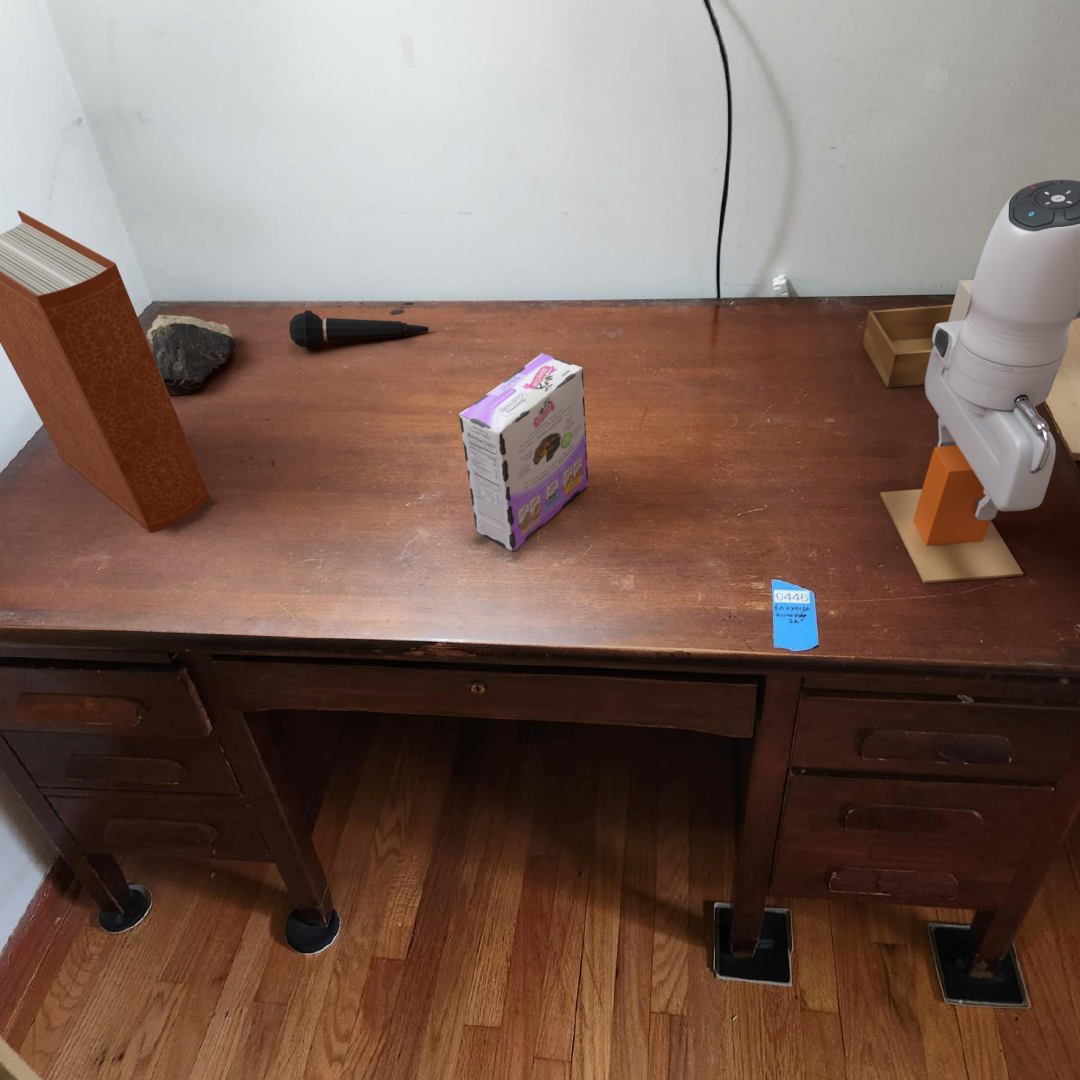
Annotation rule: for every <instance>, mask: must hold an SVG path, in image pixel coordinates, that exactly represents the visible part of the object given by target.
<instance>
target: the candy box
mask: <svg viewBox="0 0 1080 1080" xmlns="http://www.w3.org/2000/svg"><path fill="white" fill-rule="evenodd" d="M458 417H459V424H460V430H461V437H462V444H463V452H464V459H465V464H466V470H467V477H468V484H469V491H470V499H471V503H472V505H471V506H472V513H473V518H474V526H475V532H476V533H478V534H479V535H481V536H483V537H485V538H487V539H488V540H490V541H492V542H494V543H496V544H497V545H499V546H501V547H503V548H504V549H506V550H508V551H509V552H514V551H516V550H517V549H518V548H520V547H521V546H522V545H523V544H524V543H525V542H526V541H528V539H530V538H531V537H532V536H533V535H534V534H536V533H537V532H538V531H539V530H540V529H541V528H542V527H543V526H544V525H545V524H546V523H547V522H549V521H550V520H551V519H552V518H553V517H554V516H555V515H557V513H559V512H560V511H561V510H562V509H563V508H565V507H566V506H567V505H568V504H569V503H570V502H571V501H572V500H573V499H574V498H575V497H576V496H578V495H579V494H580V493H581V492H582V491H583V490H585V489H586V487H588V486H589V471H588V449H587V429H586V428H587V426H586V425H587V424H586V405H585V385H584V368H583V367H582V366H579V365H576V364H573V363H571V362H568V361H566V360H562V359H559V358H557V357H554V356H551V355H549V354H546V353H543V352H541V353H539V355H537V356H536V357H534V358H533V359H532V360H531V361H529V362H528V363H527V364H525V365H524V366H523V367H522V368H520V369H519V370H517V371H516V372H515V373H514V374H512V375H511V376H510V377H508V378H506V379H505V380H504V381H503V382H500V384H498V385H497V386H495V387H494V388H493V389H492V390H490V391H489V392H487V393H486V394H484V395H483V396H482V397H481V398H479V399H477V401H475V402H474V403H472V404H471V405H469V406H468V407H467V408H465V409H464V410H463V411H461V412H460V413H459V414H458Z"/></svg>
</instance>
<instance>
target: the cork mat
mask: <svg viewBox="0 0 1080 1080" xmlns="http://www.w3.org/2000/svg"><path fill="white" fill-rule="evenodd" d="M921 492H922V488H919V489H904V490H892V491H880V492H879V496H880V498H881V500H882V502H883V504H884V507H885V508H886V510H887V512H888V514H889V516H890V518H891V520H892V522H893V524H894V526H895V528H896V531H897V532H898V534H899V536H900V538H901V540H902V542H903V545H904V547H905V548H906V551H907V553H908V555H909V557H910V559H911V561H912V563H913V565H914V566H915V567H914V568H915V569H916V571H917V573H918V576H919V577H920V579H921V582H922V583H923V584H934V583H935V584H936V583H950V582H962V581H963V582H964V581H974V580H976V581H977V580H987V579H988V580H989V579H1002V578H1015V577H1023V576H1024V572H1023V570H1022V569H1021V567H1020V565H1019V564H1018V561H1016V559H1015V558H1014V555H1013V554H1012V552H1011V551H1010V549H1009V547H1008V545H1007V544H1006V543H1005V541H1004V539H1003V537H1002V536H1001V535H1000V533H999V531H998V529H997V528H996V527H995V525H994V523H993V521H992V519H991V520H990V523H989V526H988V528H987V531H986V534H985V536H984V539H983V541H980V542H966V543H953V544H940V545H925V543H924V541H923V539H922V537H921V535H920V533H919V531H918V529H917V527H916V525H915V524H914V522H913V519H914V515H915V512H916V509H917V505H918V502H919V498H920V495H921Z"/></svg>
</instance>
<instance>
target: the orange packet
mask: <svg viewBox="0 0 1080 1080" xmlns="http://www.w3.org/2000/svg"><path fill="white" fill-rule="evenodd" d="M921 489H922V492H921V495H920V498H919V502H918V505H917V509H916V512H915V515H914V519H913V522H914V524H915V525H916V527H917V529H918V531H919V533H920V535H921V537H922V539H923V541H924V543H925V545H940V544H953V543H966V542H980V541H983V539H984V536H985V534H986V531H987V528H988V526H989V523H990V520H982V521H979V520H977V518H976V516H975V514H974V513H973V511H972V506H973V502H974V500H975V498H978V497H983V498H984V497H985V496H986V495H985V494H984V492H983V491H984V487H983V485H982V484H981V482H980V481H979V479H978V478H977V476H976V474H975V473H974V471H973V470H972V468H971V466H970V465H969V463H968V462H967V460H966V459H965V457H964V455H963V454H962V452H961V451H960V449H959V447H958V446H957V445H955V446H942V447H938V446H934V447H933V450H932V454H931V458H930V460H929V464H928V468H927V471H926V475H925V479H924V482H923V485H922V488H921Z"/></svg>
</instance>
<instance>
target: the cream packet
mask: <svg viewBox="0 0 1080 1080" xmlns="http://www.w3.org/2000/svg"><path fill="white" fill-rule="evenodd" d="M973 281H974V279H964V280H963V279H962V280H958V284H957V288H956V291H955V294H954V299H953V302H952V305H953V306H952V309H951V313H950V317H949V320H948V322H950V321H959V320H965V319H966V317H967V316H968V314H969V312H970V309H971V288H972V285H973Z"/></svg>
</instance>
